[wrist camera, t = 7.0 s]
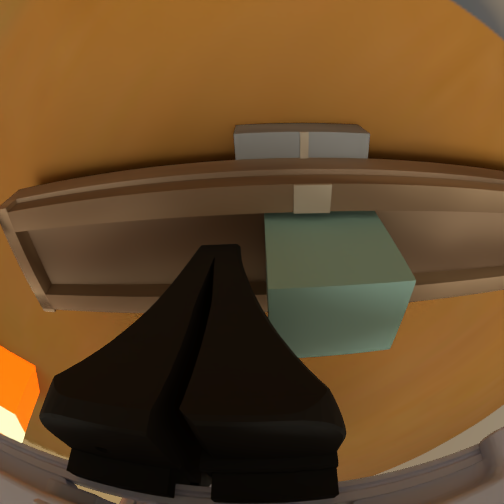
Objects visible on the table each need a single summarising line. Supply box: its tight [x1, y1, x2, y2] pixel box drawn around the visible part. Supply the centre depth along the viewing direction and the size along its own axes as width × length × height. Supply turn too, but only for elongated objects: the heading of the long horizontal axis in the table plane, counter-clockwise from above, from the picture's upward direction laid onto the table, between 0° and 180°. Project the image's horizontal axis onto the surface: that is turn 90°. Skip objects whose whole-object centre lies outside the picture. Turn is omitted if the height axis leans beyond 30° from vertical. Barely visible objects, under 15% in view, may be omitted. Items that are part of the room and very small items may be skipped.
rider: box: [264, 211, 416, 358], centre depth 10 cm, size 3×4×4 cm
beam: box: [0, 123, 504, 313], centre depth 13 cm, size 8×26×4 cm, turn 93°
